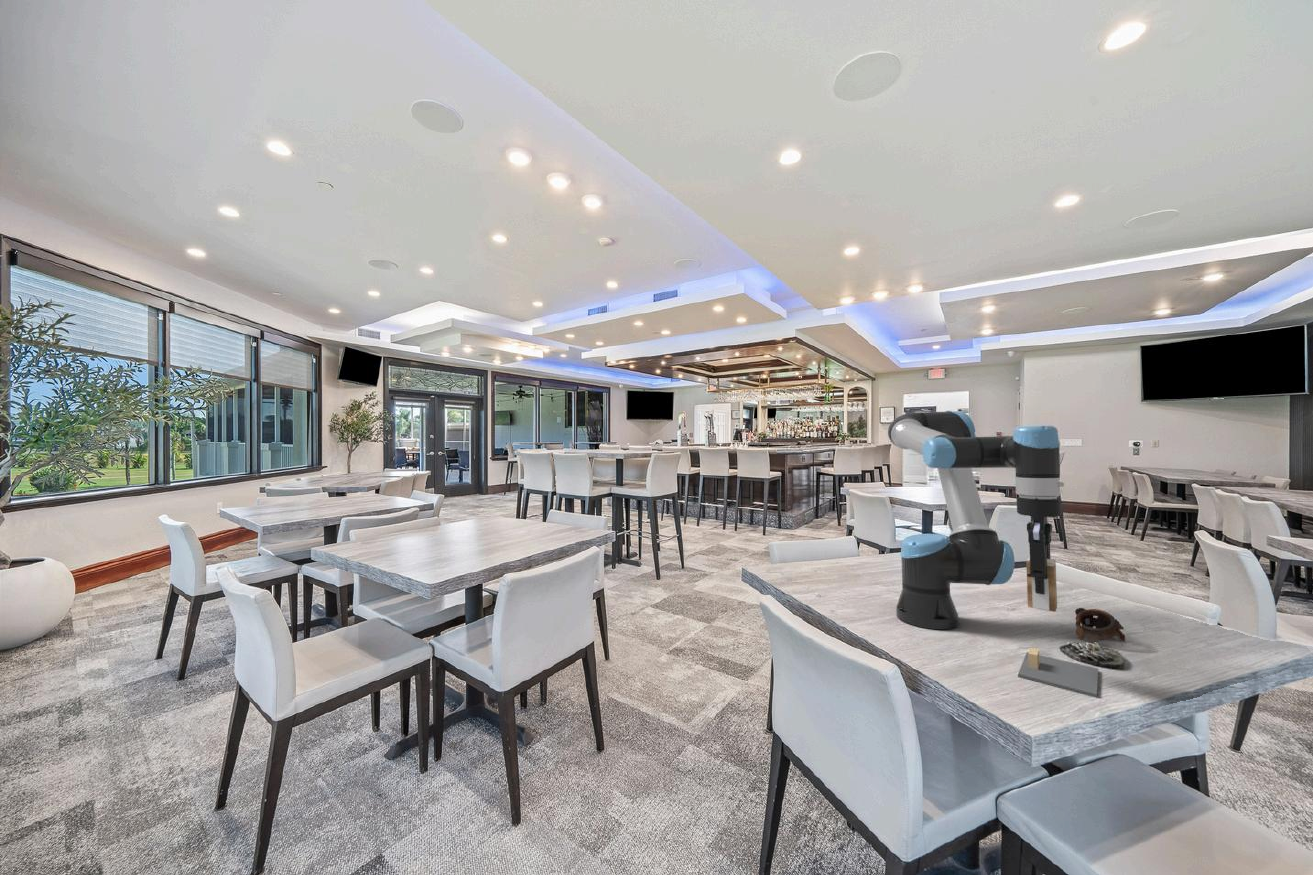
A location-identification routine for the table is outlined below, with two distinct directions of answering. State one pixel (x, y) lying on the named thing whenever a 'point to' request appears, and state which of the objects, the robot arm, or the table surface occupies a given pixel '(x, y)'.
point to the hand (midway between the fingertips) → (1042, 605)
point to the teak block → (1052, 584)
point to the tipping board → (1059, 673)
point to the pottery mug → (1097, 625)
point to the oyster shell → (1094, 655)
